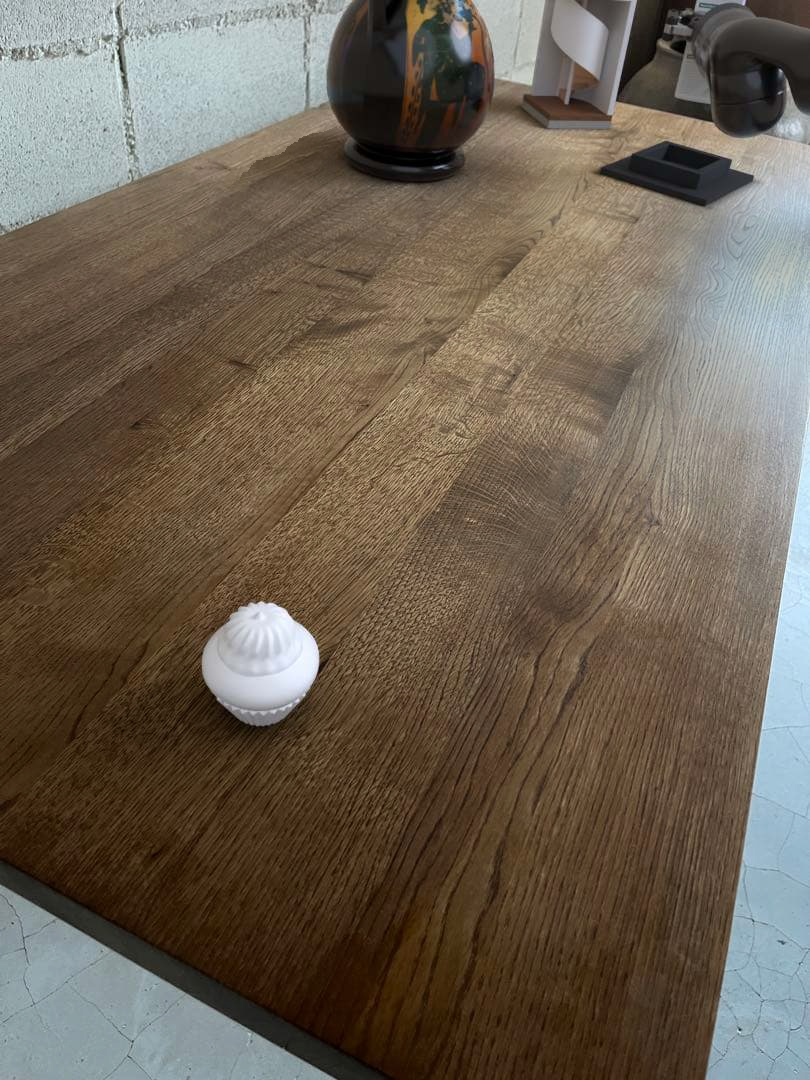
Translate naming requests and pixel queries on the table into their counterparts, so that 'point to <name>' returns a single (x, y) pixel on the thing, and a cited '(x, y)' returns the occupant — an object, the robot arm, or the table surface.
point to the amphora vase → (410, 85)
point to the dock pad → (680, 172)
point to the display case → (579, 62)
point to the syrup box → (690, 77)
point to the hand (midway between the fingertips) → (713, 20)
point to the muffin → (260, 663)
